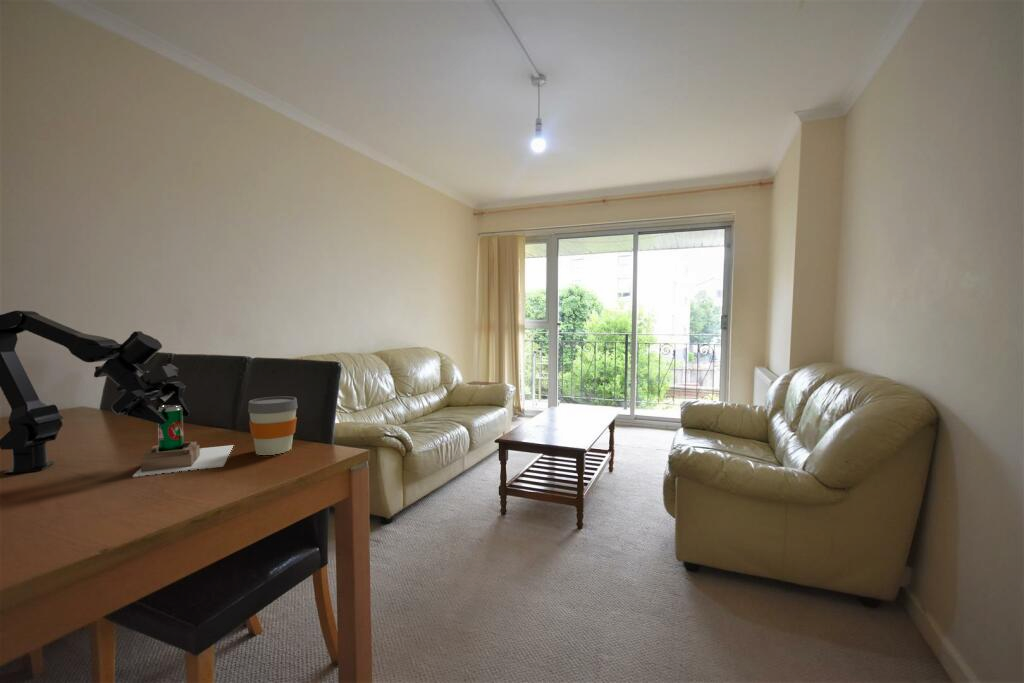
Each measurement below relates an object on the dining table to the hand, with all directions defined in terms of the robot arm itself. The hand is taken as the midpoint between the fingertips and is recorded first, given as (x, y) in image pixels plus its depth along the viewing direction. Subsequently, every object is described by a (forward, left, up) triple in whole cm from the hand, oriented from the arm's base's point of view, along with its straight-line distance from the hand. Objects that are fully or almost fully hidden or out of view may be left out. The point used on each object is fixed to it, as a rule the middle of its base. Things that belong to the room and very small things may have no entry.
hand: (176, 419), depth 110 cm
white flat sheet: (-3, +2, -12) cm, 13 cm away
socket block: (0, -1, -12) cm, 12 cm away
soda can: (-1, -1, -9) cm, 9 cm away
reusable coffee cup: (-3, +22, -12) cm, 25 cm away
